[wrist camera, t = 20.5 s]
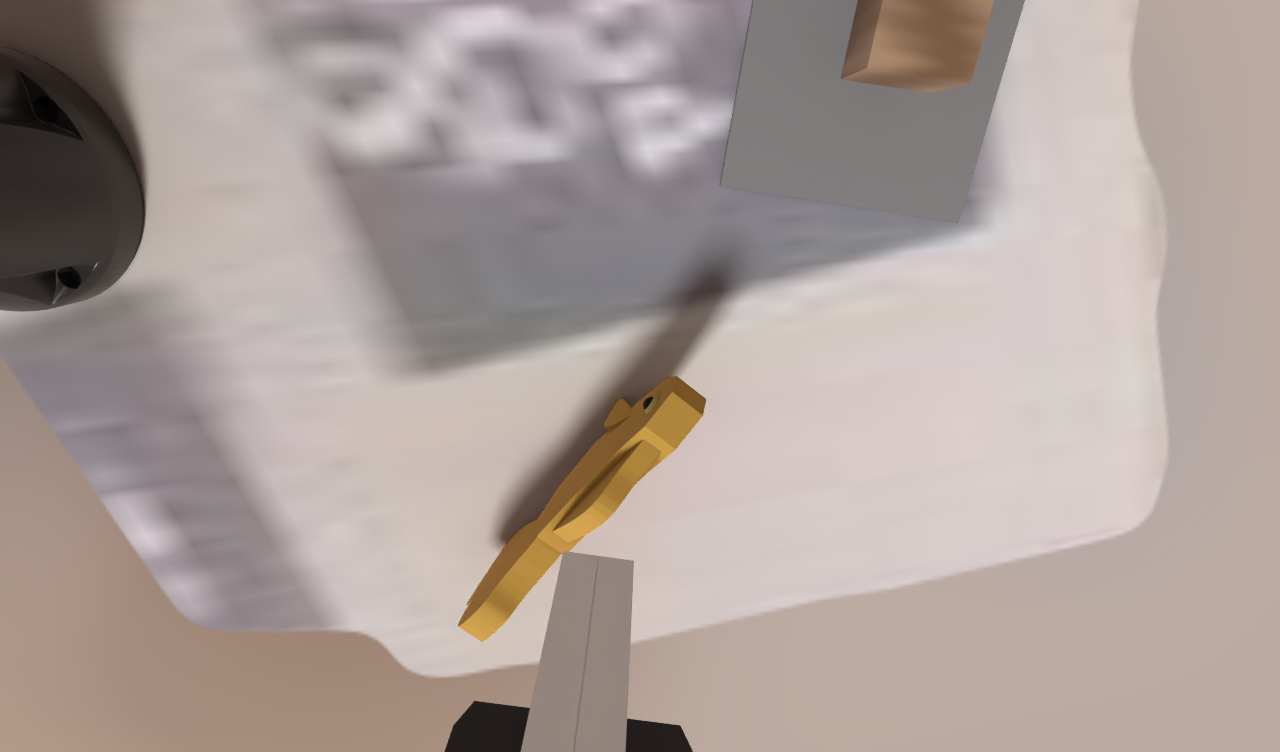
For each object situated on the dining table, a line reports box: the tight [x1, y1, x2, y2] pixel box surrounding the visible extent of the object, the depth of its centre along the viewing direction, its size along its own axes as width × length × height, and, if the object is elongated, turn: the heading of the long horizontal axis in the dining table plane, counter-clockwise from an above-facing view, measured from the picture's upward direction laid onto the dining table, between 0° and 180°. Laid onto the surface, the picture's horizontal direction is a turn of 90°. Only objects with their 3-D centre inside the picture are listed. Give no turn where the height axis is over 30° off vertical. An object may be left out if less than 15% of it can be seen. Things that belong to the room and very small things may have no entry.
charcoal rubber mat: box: [720, 0, 1025, 223], centre depth 35 cm, size 14×18×1 cm
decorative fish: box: [458, 376, 706, 642], centre depth 41 cm, size 22×3×10 cm, turn 141°
